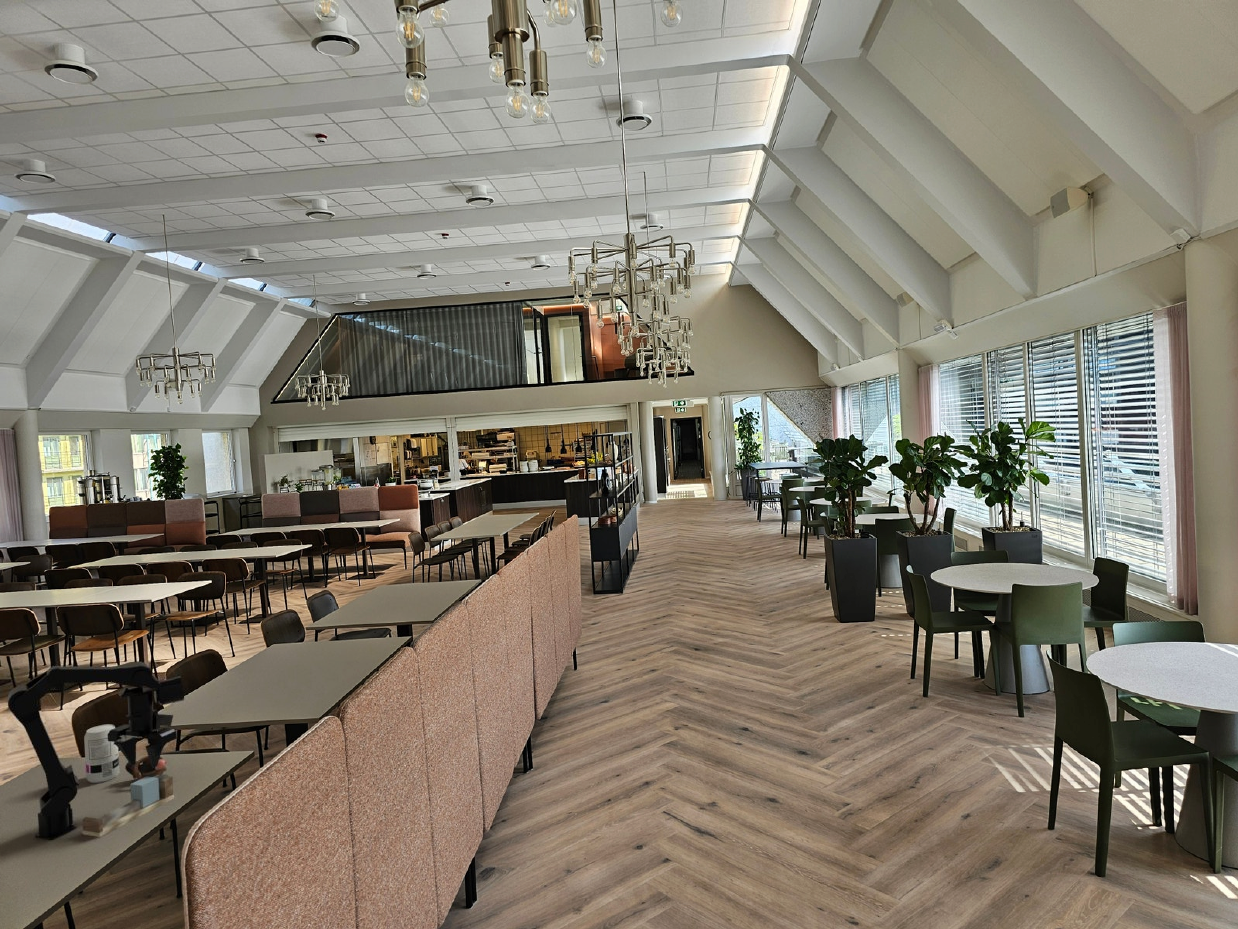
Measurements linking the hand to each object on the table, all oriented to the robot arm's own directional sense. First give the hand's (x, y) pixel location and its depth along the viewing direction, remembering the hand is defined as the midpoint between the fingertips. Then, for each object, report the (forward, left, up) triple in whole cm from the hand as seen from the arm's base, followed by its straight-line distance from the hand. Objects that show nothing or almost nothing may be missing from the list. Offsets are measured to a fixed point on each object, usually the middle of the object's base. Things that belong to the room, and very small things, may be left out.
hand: (144, 766), depth 210 cm
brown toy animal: (+14, +16, -12) cm, 24 cm away
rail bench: (-5, 0, -11) cm, 12 cm away
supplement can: (+12, +31, -12) cm, 35 cm away
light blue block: (0, 0, -10) cm, 10 cm away
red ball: (+5, 0, -3) cm, 6 cm away
